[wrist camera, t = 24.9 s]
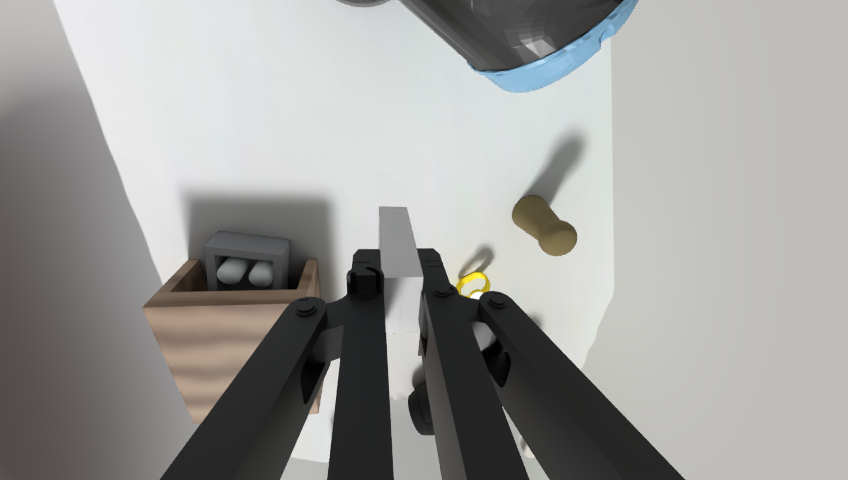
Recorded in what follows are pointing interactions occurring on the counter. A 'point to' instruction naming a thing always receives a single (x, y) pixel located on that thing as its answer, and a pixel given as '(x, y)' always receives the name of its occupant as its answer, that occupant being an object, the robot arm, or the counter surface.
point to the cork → (544, 226)
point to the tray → (247, 251)
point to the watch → (466, 279)
